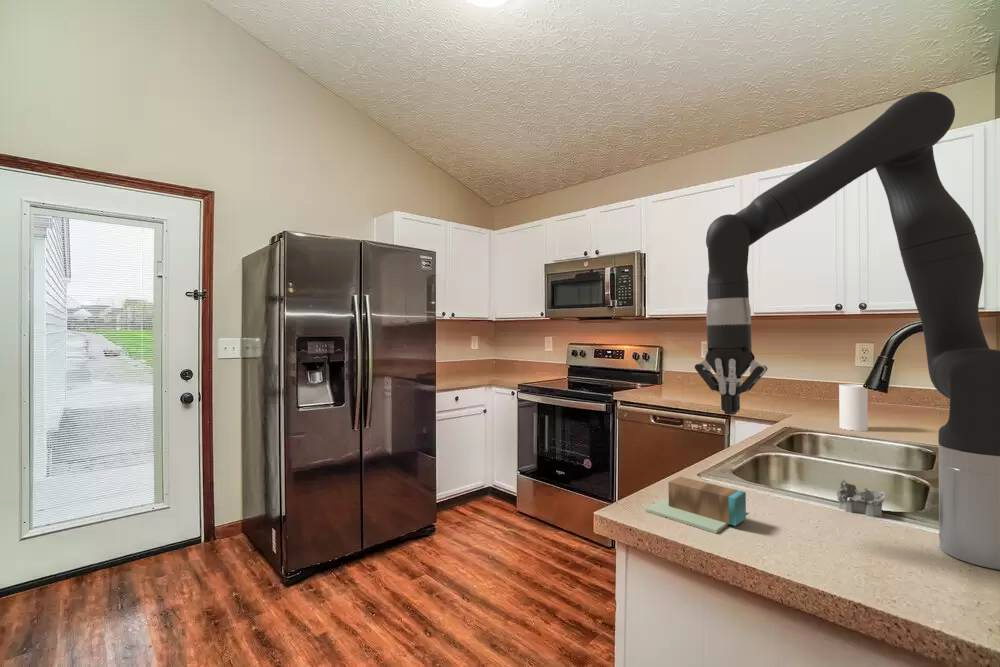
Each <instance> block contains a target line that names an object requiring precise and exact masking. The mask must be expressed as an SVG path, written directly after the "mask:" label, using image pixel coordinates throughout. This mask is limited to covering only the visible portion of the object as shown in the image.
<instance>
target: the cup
mask: <svg viewBox="0 0 1000 667" xmlns="http://www.w3.org/2000/svg"><path fill="white" fill-rule="evenodd" d="M863 385H864V384H853V383H852V384H850V383H842V384H841V383H839V385H838V389H839V390H838V397H839V399H838V408H839V409H838V412H839V413H838V414H839V415H838V416H839V420H838V421H839V424H838V425H839V429H841V428H842V429H841V430H844V429H846V430H845V431H850V430H854V431H853V432H868V431H869V412H868V411H869V410H868V409H869V408H868V405H869V403H868V402H869V399H868V396H869V394H868V390H869V389H865V388H864V387H863Z"/></svg>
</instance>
